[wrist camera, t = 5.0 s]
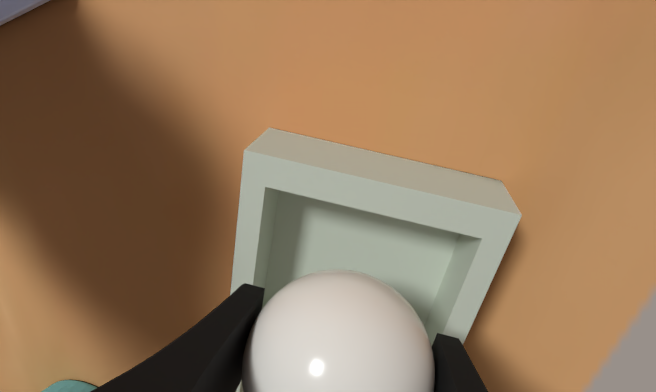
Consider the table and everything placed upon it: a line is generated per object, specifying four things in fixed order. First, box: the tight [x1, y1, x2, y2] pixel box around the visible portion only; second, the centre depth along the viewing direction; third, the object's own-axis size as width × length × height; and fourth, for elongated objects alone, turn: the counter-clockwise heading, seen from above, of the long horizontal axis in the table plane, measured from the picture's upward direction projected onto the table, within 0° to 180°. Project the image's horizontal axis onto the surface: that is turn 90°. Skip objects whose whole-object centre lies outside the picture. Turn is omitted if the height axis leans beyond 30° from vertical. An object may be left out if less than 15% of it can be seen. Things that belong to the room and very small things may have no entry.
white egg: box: [242, 269, 435, 392], centre depth 11 cm, size 5×5×5 cm
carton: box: [230, 128, 522, 392], centre depth 16 cm, size 16×8×2 cm, turn 170°
